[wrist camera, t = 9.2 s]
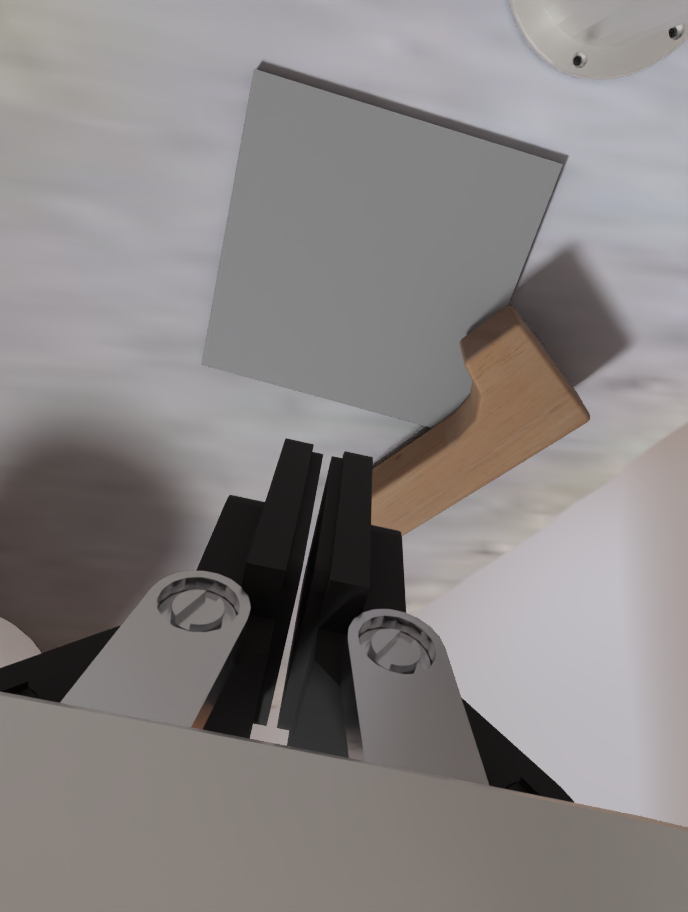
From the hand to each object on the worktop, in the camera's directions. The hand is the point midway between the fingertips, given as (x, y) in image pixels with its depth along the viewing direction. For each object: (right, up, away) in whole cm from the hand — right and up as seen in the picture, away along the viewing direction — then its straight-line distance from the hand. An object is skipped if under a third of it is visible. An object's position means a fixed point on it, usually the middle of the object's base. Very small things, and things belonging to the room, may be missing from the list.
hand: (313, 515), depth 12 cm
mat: (+2, +14, +33) cm, 36 cm away
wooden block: (+15, +8, +32) cm, 36 cm away
